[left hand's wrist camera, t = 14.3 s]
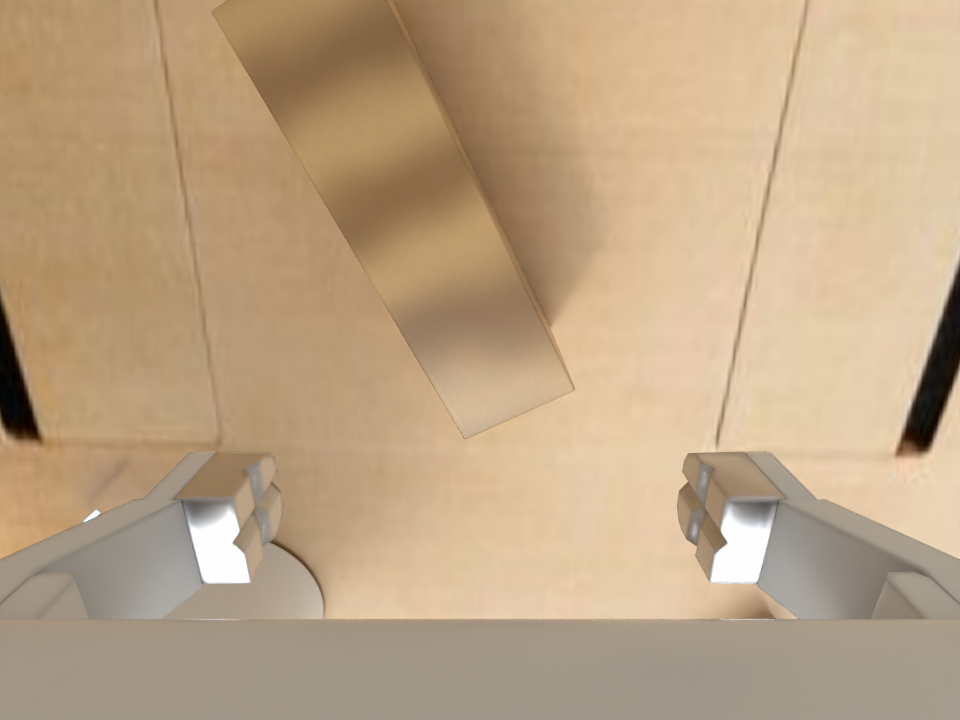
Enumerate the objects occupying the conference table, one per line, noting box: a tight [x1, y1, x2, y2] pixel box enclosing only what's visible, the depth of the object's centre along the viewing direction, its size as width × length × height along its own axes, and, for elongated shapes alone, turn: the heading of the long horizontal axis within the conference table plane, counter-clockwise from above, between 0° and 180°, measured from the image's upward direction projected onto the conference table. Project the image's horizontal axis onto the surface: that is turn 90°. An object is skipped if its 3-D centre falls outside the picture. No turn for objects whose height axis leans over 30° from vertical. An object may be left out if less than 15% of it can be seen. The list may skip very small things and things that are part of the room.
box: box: [212, 0, 575, 439], centre depth 27 cm, size 21×6×10 cm, turn 27°
